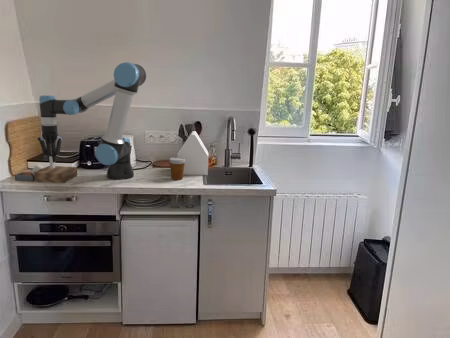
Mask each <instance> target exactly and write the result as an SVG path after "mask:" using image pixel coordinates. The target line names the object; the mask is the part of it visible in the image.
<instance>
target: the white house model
mask: <svg viewBox="0 0 450 338" xmlns="http://www.w3.org/2000/svg"><path fill="white" fill-rule="evenodd" d="M176 157H181V158H184V159H185V161H186V162H185V165H184V172H183V175H185V176H187V175H188V176H190V175H191V176H193V175H194V176H209V151H208V149H207V147H206V146H205V144H204V142H203V141H202V139H201V138H200V136H199V134H198V133H197V131H195V130H194V131H193V130H192V131H191V133H190V134H189V136H188V138H187V139H186V140H185V142H184V143H183V144H182V146H181V148H180V149H179V151H178V152H177V155H176Z"/></svg>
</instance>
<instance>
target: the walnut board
mask: <svg viewBox="0 0 450 338" xmlns="http://www.w3.org/2000/svg"><path fill="white" fill-rule="evenodd" d="M44 167H45V168H43V169H41V170H38V171H36V172H34V180H35V181H34V182H36V183H37V182H39V183H56V184H57V183H58V184H59V183H60V184H66V183H67V182H68V181H71V180H72V179H74V178H76V177H77V176H78V167H77V166H63V165H60V166H58V165H55V168H50V165H48V166H44Z"/></svg>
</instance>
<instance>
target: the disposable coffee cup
mask: <svg viewBox="0 0 450 338" xmlns="http://www.w3.org/2000/svg"><path fill="white" fill-rule="evenodd" d="M168 162H169V166H170V167H169V168H170V175H171V176H170V177H171V180H173V181H181V180H183V177H184V174H183V172H184V165H185V162H186V161H185V159H184V158H181V157H177V156H176V157H174V156H173V157H170V158H169V161H168Z"/></svg>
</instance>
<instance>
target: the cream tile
mask: <svg viewBox="0 0 450 338" xmlns="http://www.w3.org/2000/svg"><path fill="white" fill-rule="evenodd" d="M45 167H46V166H44V165H43V164H42V163H38V164H36V165H34V167H32V168H33V169H32V170H31V171H30V172H31V173H32V174H33V175H34V172H36V171H38V170H41V169H43V168H45Z"/></svg>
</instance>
